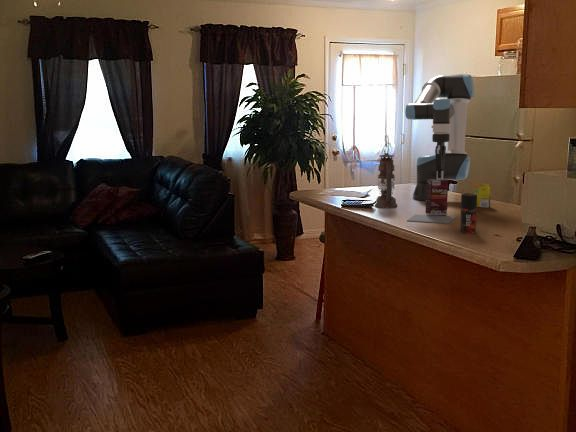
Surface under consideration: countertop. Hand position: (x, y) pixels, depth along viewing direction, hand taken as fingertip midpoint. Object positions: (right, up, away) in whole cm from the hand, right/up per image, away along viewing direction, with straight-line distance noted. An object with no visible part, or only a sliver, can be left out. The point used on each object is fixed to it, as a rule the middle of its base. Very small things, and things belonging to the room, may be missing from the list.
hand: (439, 184), depth 287 cm
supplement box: (-2, -14, -3) cm, 14 cm away
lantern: (-21, -10, +23) cm, 33 cm away
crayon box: (+24, -10, +16) cm, 31 cm away
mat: (-7, -16, -12) cm, 21 cm away
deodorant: (+2, -21, -39) cm, 45 cm away
